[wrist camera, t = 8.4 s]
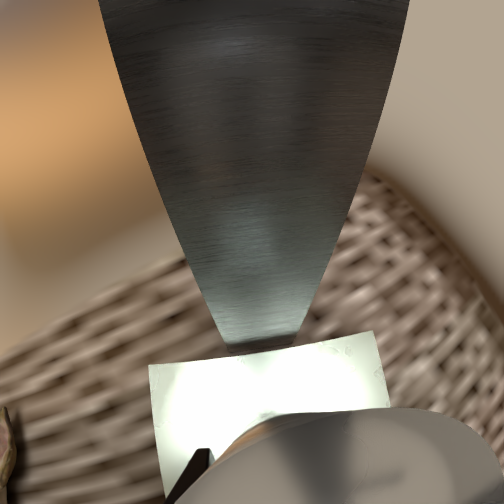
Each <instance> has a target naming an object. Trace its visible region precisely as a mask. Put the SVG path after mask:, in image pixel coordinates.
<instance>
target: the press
mask: <svg viewBox="0 0 504 504" xmlns="http://www.w3.org/2000/svg"><path fill="white" fill-rule="evenodd" d="M409 1H410V0H98V2H99V6H100V10H101V14H102V18H103V21H104V25H105V29H106V33H107V36H108V40H109V44H110V47H111V51H112V54H113V57H114V61H115V64H116V67H117V71H118V74H119V78H120V81H121V84H122V87H123V90H124V93H125V97H126V100H127V103H128V106H129V109H130V112H131V115H132V118H133V121H134V124H135V127H136V129H137V132H138V135H139V138H140V141H141V144H142V147H143V150H144V152H145V155H146V158H147V161H148V163H149V166H150V169H151V171H152V174H153V177H154V179H155V182H156V185H157V187H158V190H159V192H160V195H161V197H162V200H163V203H164V205H165V208H166V210H167V213H168V215H169V218H170V220H171V223H172V225H173V228H174V230H175V233H176V235H177V237H178V240H179V242H180V245H181V247H182V249H183V252H184V254H185V256H186V259H187V261H188V263H189V266H190V268H191V270H192V273H193V275H194V277H195V279H196V282H197V284H198V286H199V288H200V291H201V293H202V295H203V297H204V299H205V302H206V304H207V306H208V308H209V310H210V312H211V315H212V317H213V319H214V321H215V323H216V325H217V327H218V330H219V332H220V334H221V336H222V338H223V340H224V342H225V344H226V346H227V348H228V350H229V352H230V353H233V352H241V351H248V350H255V349H261V348H267V347H274V346H280V345H285V344H291V343H293V341H294V339H295V337H296V335H297V333H298V331H299V328H300V326H301V324H302V322H303V320H304V318H305V315H306V313H307V311H308V309H309V306H310V304H311V302H312V300H313V297H314V295H315V293H316V290H317V288H318V286H319V284H320V281H321V279H322V276H323V274H324V272H325V269H326V267H327V265H328V262H329V260H330V257H331V255H332V252H333V250H334V247H335V245H336V242H337V240H338V237H339V235H340V232H341V230H342V227H343V224H344V222H345V219H346V217H347V214H348V211H349V209H350V206H351V203H352V200H353V198H354V195H355V192H356V189H357V187H358V184H359V181H360V178H361V175H362V172H363V169H364V166H365V164H366V160H367V157H368V155H369V151H370V149H371V145H372V142H373V139H374V136H375V133H376V130H377V127H378V123H379V120H380V117H381V113H382V110H383V107H384V103H385V100H386V96H387V93H388V89H389V86H390V82H391V78H392V75H393V71H394V67H395V63H396V59H397V55H398V51H399V47H400V43H401V39H402V34H403V30H404V25H405V20H406V16H407V11H408V6H409ZM148 366H149V380H150V392H151V402H152V412H153V421H154V429H155V437H156V444H157V451H158V457H159V464H160V470H161V475H162V481H163V486H164V492H165V497H166V498H167V496H168V495H169V493H170V491H171V490H172V488H173V487H174V485H175V483H176V482H177V480H178V479H179V477H180V475H181V474H182V472H183V471H184V469H185V467H186V466H187V464H188V462H189V461H190V459H191V457H192V456H193V454H194V452H195V451H196V449H198V448H210V449H211V451H212V453H213V456H214V458H215V461H216V460H217V459H218V458H219V457H220V456H221V455H222V453H223V452H224V451H225V450H226V449H227V448H228V447H229V446H230V445H231V444H232V443H233V441H234V440H235V439H236V438H237V437H238V436H239V435H240V434H241V432H242V431H243V430H244V429H245V428H246V427H247V426H248V425H249V424H250V423H252V422H253V421H254V420H256V419H258V418H260V417H262V416H265V415H268V414H271V413H278V412H327V411H345V410H359V409H370V408H390V407H391V406H390V401H389V396H388V391H387V387H386V382H385V378H384V373H383V369H382V365H381V361H380V357H379V353H378V349H377V345H376V341H375V337H374V333H373V330H371V331H367V332H363V333H359V334H355V335H351V336H346V337H342V338H337V339H333V340H328V341H323V342H318V343H313V344H308V345H303V346H298V347H292V348H287V349H281V350H275V351H269V352H262V353H256V354H249V355H242V356H235V357H227V358H219V359H211V360H202V361H192V362H182V363H170V364H157V365H148Z"/></svg>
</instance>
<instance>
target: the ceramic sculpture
mask: <svg viewBox="0 0 504 504" xmlns="http://www.w3.org/2000/svg"><path fill="white" fill-rule="evenodd" d="M16 454H17V451H16V446H15V438H14V433H13V429H12V426H11V422H10V418H9V415H8V411H7V408H6V407H3V408H2V410H1V412H0V504H7V491H6V484H7V481H8V479H9V477H10V476H11V473H12V471H13V468H14V466H15V462H16Z"/></svg>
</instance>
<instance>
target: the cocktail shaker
mask: <svg viewBox="0 0 504 504" xmlns="http://www.w3.org/2000/svg"><path fill="white" fill-rule="evenodd" d="M174 504H504V476H503V473H502V470H501V466H500V463H499V461H498V459H497V457H496V455H495V454H494V452H493V450H492V448H491V447H490V446H489V445H488V443H487V442H486V441H485V440H484V439H483V437H481V436H480V435H479V434H478V433H477V432H475V431H474V430H473V429H472V428H471V427H469V426H467V425H465V424H464V423H462V422H460V421H458V420H457V419H454V418H452V417H449V416H446V415H443V414H440V413H437V412H432V411H427V410H422V409H415V408H400V407H390V408H370V409H359V410H345V411H327V412H278V413H271V414H268V415H265V416H262V417H260V418H258V419H256V420H254V421H253V422H252V423H250V424H249V425H248V426H247V427H246V428H245V429H244V430H243V431H242V432H241V434H240V435H239V436H238V437H237V438H236V439H235V440H234V441H233V443H232V444H231V445H230V446H229V447H228V448H227V449H226V450H225V451H224V452H223V453H222V455H221V456H220V457H219V458H218V459H217V460H216V461H215V462H214V463H213V464H212V465H211V466H210V467H209V468H208V469H207V470H206V471H205V472H204V473H203V474H202V475H201V476H200V477H199V478H198V479H197V480H196V481H195V482H194V483H193V484H192V485H191V486H190V487H189V488H188V490H187V491H186V492H185V493H184V494H183V495H182V496H181V497H180V498H179V499H178V500H177V501H176V502H175V503H174Z"/></svg>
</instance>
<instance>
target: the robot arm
mask: <svg viewBox="0 0 504 504" xmlns="http://www.w3.org/2000/svg"><path fill="white" fill-rule="evenodd" d="M214 462H215V458H214V456H213V453H212V451H211V449H210V448H198V449H196V451H195V452H194V454H193V456H192V457H191V459H190V461H189V462H188V464H187V466H186V467H185V469H184V471H183V472H182V474H181V475H180V477H179V479H178V480H177V482H176V483H175V485H174V487H173V488H172V490H171V491H170V493H169V495H168V496H167V498H166V499H165V501H164V502H163V504H174V503H175V502H176V501H177V500H178V499H179V498H180V497H181V496H182V495H183V494H184V493H185V492H186V491H187V490H188V488H189V487H190V486H191V485H192V484H193V483H194V482H195V481H196V480H197V479H198V478H199V477H200V476H201V475H202V474H203V473H204V472H205V471H206V470H207V469H208V468H209V467H210V466H211V465H212V464H213V463H214Z"/></svg>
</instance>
